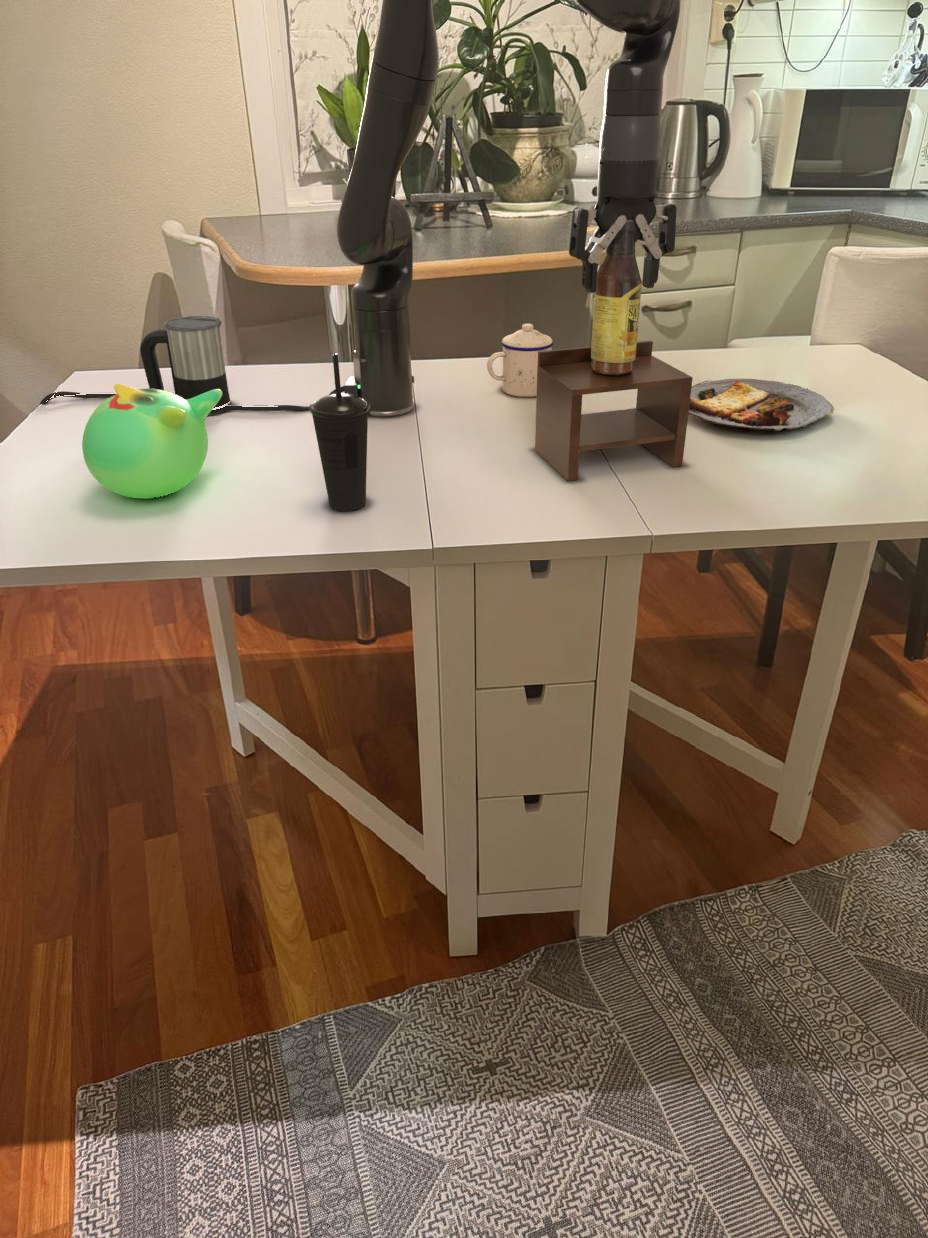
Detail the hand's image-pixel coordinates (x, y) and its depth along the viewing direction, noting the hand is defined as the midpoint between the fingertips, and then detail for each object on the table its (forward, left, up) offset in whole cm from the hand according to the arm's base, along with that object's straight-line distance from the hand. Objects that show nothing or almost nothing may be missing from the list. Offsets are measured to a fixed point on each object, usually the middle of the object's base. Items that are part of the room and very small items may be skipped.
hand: (619, 289), depth 123 cm
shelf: (0, 0, -24) cm, 24 cm away
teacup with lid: (-1, +35, -24) cm, 43 cm away
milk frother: (-58, +40, -24) cm, 75 cm away
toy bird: (-64, +8, -24) cm, 69 cm away
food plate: (+31, +10, -24) cm, 41 cm away
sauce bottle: (0, 0, -11) cm, 11 cm away
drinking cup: (-40, -5, -24) cm, 47 cm away
